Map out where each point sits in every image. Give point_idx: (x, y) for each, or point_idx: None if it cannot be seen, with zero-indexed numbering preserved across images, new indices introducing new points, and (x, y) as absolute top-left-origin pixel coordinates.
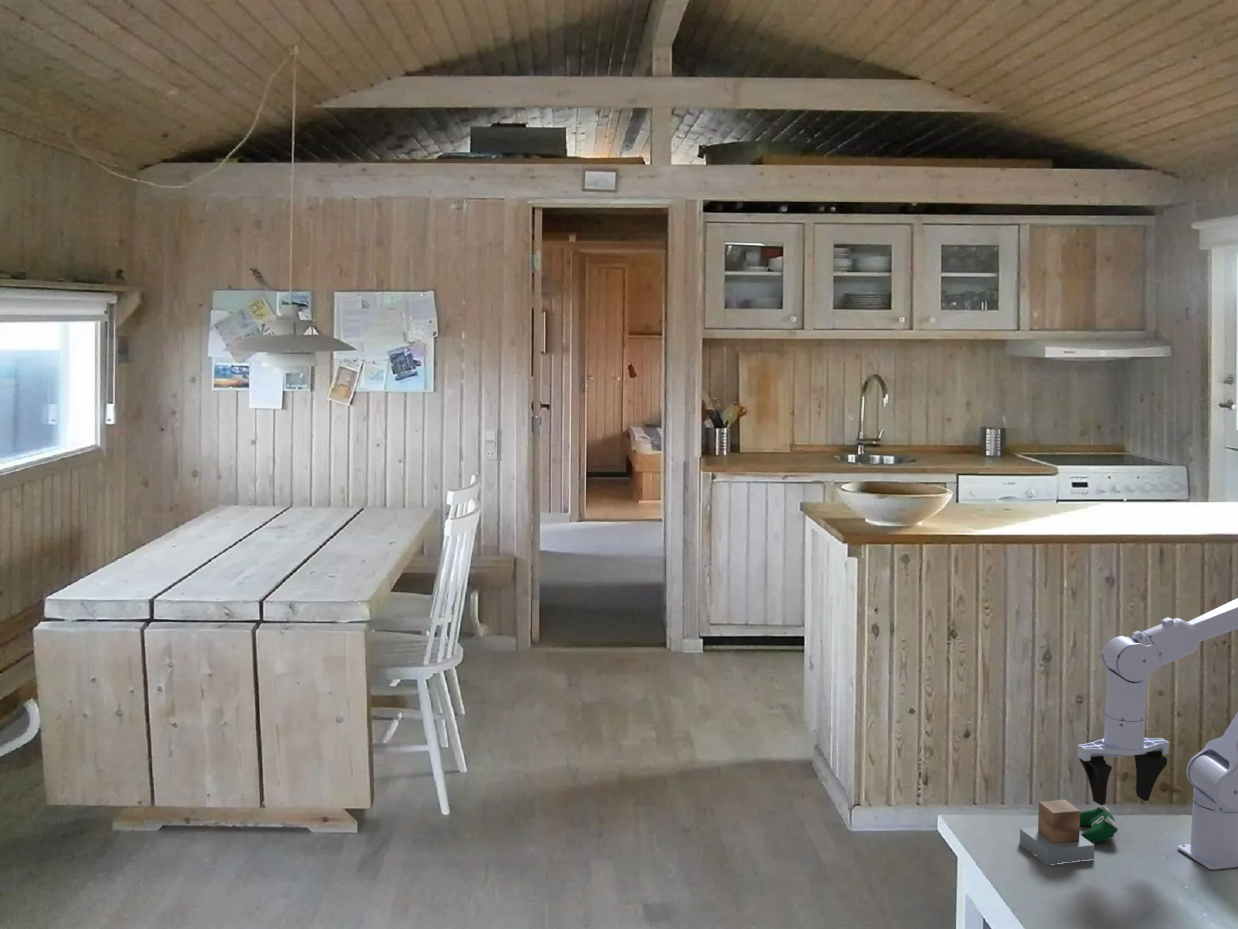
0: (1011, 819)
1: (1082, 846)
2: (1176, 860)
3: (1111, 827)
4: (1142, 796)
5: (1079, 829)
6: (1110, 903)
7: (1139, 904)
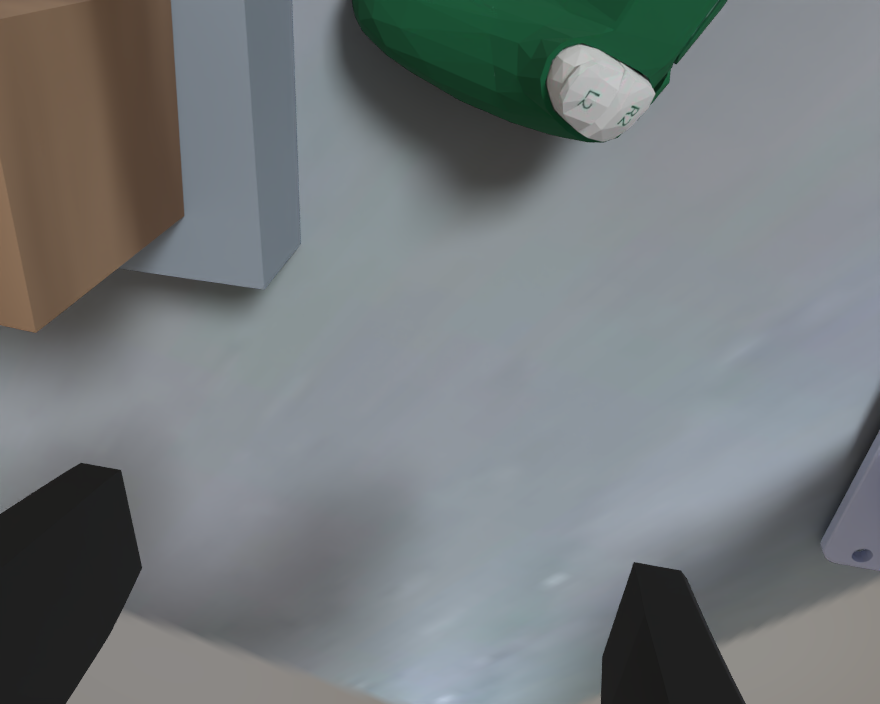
0: None
1: (175, 276)
2: (773, 406)
3: (558, 132)
4: (614, 656)
5: (136, 252)
6: (152, 549)
7: (258, 590)
